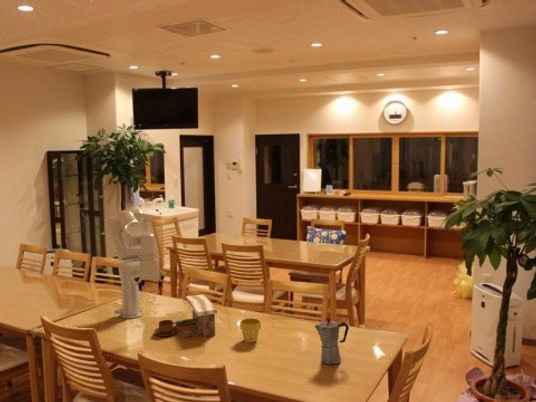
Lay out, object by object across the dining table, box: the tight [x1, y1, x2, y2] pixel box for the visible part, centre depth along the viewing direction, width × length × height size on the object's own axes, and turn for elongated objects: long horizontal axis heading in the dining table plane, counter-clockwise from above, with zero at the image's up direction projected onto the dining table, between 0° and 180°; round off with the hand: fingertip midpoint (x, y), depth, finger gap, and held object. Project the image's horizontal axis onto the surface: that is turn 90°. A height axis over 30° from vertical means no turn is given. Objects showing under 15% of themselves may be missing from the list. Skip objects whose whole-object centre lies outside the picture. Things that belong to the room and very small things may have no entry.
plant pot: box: [239, 317, 262, 344], centre depth 253 cm, size 10×10×10 cm
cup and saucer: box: [153, 319, 179, 337], centre depth 264 cm, size 12×12×6 cm
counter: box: [175, 294, 218, 338], centre depth 269 cm, size 17×28×14 cm, turn 21°
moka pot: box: [314, 318, 350, 366], centre depth 227 cm, size 10×15×20 cm, turn 95°
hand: (150, 289), depth 265 cm, fingers open, 9 cm apart
